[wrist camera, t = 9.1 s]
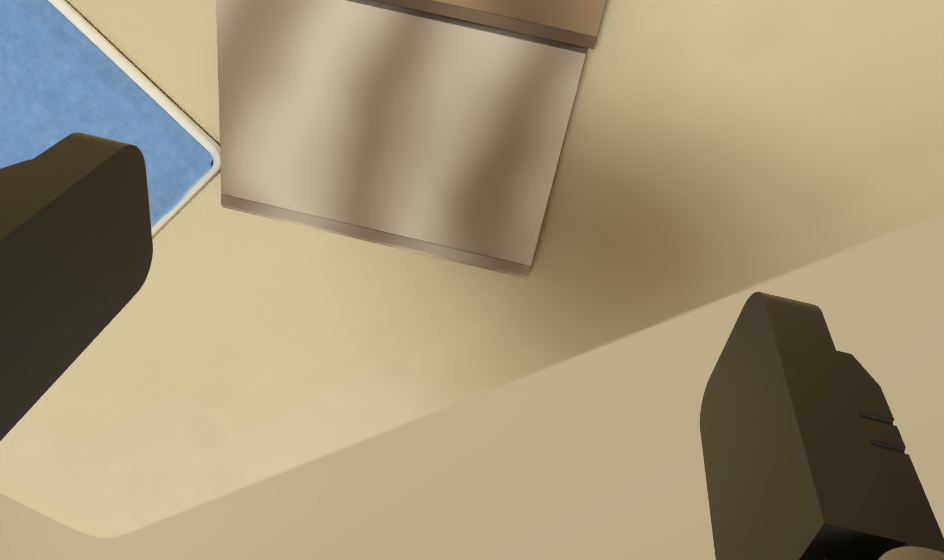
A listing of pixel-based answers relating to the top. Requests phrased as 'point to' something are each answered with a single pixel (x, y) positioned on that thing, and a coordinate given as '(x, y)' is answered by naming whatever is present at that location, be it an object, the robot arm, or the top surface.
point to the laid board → (524, 16)
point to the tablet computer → (93, 102)
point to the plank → (393, 125)
